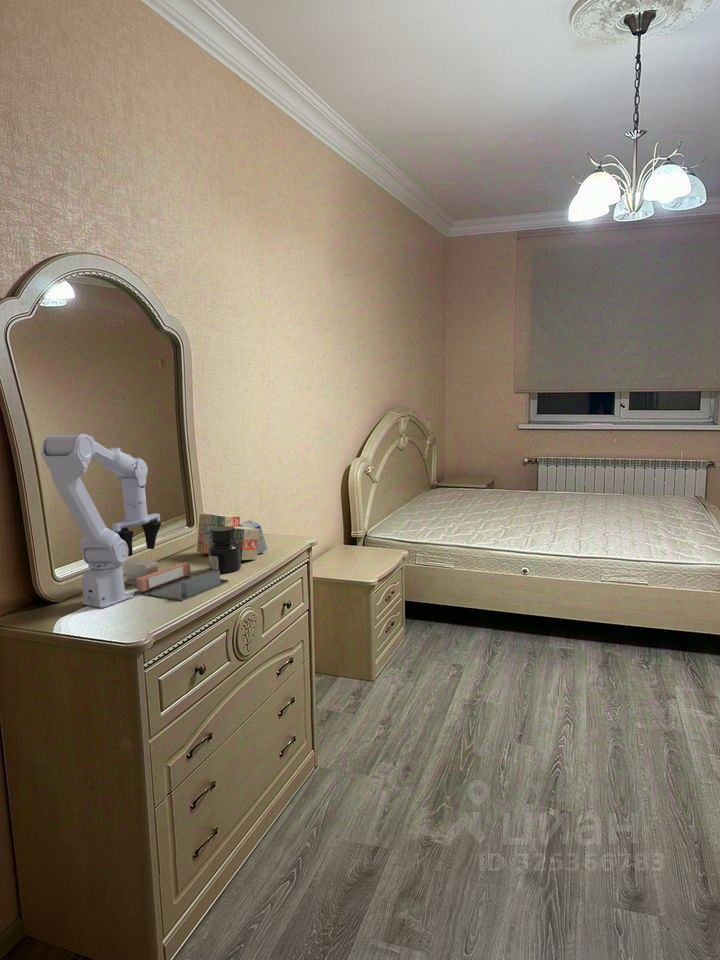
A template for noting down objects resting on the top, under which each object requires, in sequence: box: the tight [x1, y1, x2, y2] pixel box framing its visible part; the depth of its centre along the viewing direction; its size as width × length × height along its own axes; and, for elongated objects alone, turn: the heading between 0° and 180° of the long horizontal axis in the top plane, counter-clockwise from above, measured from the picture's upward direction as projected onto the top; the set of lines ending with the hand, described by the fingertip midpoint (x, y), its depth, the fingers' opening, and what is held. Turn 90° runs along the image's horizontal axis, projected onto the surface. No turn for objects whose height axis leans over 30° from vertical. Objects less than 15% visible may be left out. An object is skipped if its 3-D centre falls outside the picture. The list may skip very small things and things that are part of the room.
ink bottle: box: [208, 526, 242, 574], centre depth 191 cm, size 10×9×12 cm
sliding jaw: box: [136, 561, 192, 592], centre depth 179 cm, size 17×2×3 cm, turn 150°
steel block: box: [124, 558, 159, 586], centre depth 182 cm, size 4×8×6 cm, turn 60°
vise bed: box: [134, 570, 229, 602], centre depth 176 cm, size 17×17×4 cm
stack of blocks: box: [196, 513, 259, 561], centre depth 205 cm, size 21×6×12 cm, turn 51°
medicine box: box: [239, 519, 268, 555], centre depth 209 cm, size 8×4×9 cm, turn 32°
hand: (140, 552), depth 181 cm, fingers open, 7 cm apart
